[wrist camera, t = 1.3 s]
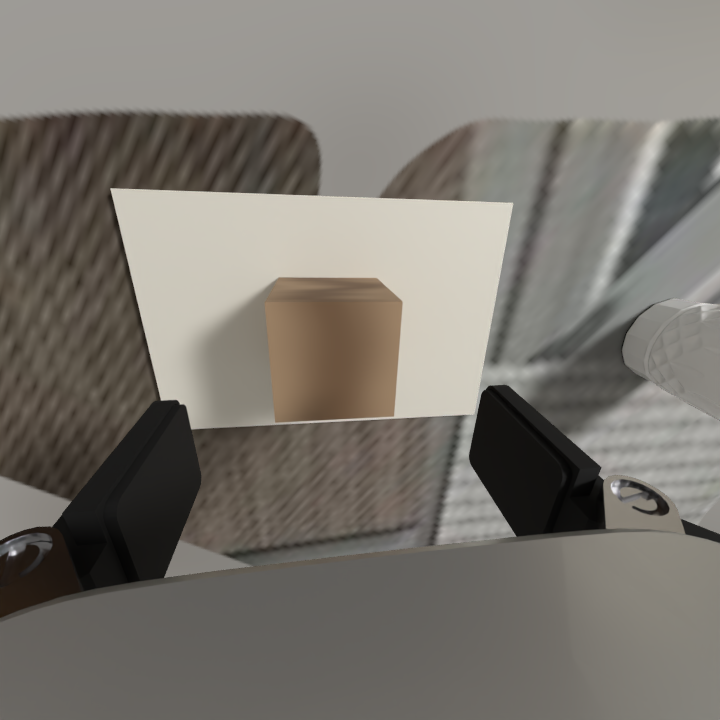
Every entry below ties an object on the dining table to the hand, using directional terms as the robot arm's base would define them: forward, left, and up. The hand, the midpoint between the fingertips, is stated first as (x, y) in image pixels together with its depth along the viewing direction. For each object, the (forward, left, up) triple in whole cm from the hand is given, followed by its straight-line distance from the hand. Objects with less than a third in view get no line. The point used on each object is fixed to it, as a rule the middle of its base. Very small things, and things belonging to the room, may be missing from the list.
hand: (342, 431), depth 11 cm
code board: (-1, 0, -14) cm, 14 cm away
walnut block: (-1, 0, -13) cm, 13 cm away
